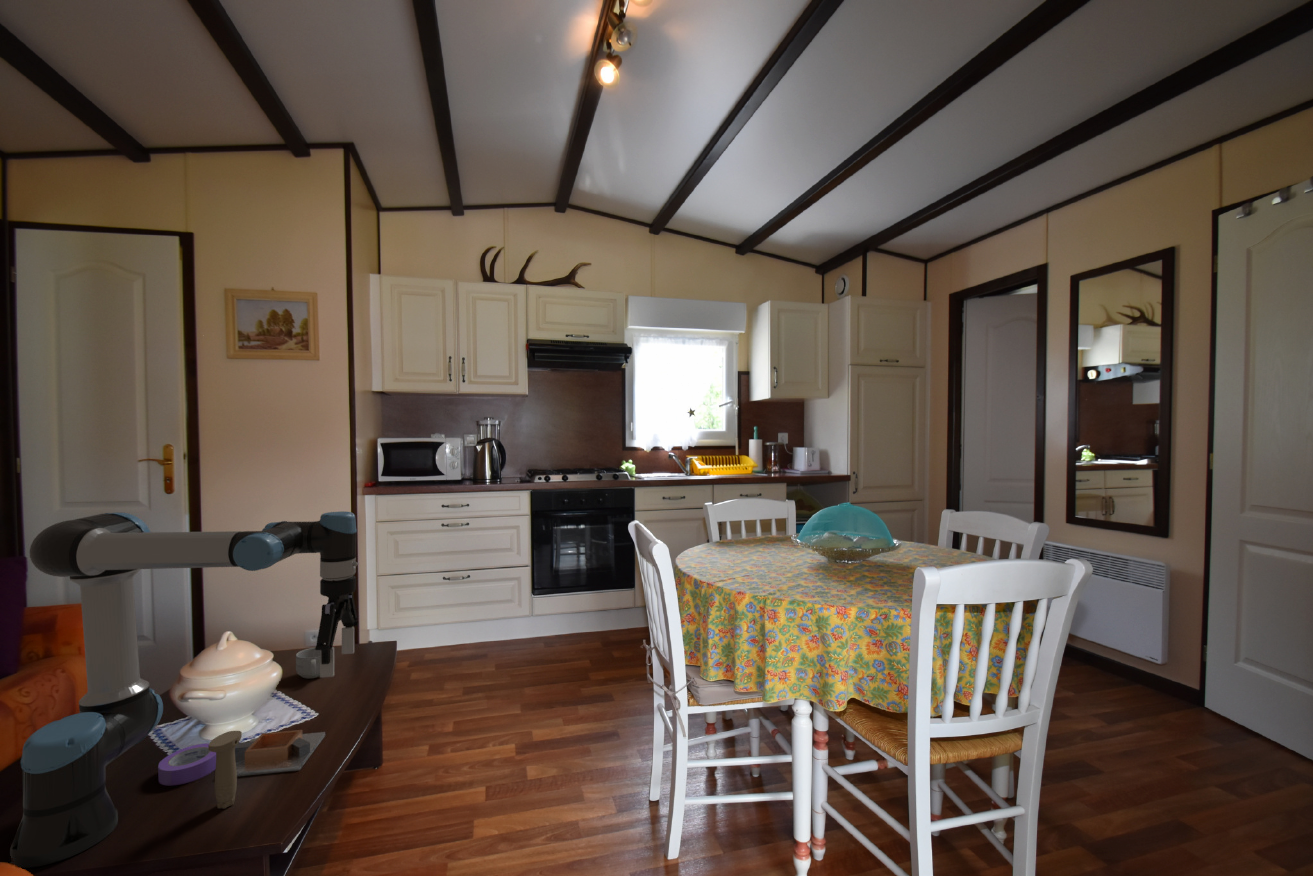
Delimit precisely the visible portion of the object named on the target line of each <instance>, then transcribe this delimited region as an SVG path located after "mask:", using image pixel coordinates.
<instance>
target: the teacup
mask: <svg viewBox="0 0 1313 876" xmlns="http://www.w3.org/2000/svg"><path fill="white" fill-rule="evenodd" d="M295 670H296V673H297V675H298V676H300V677H301V678H303V679H315V678H320V650H315V647H310V648H306V649H303V650H300V651H298V652H297V653H296V654H295Z"/></svg>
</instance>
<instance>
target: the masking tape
mask: <svg viewBox="0 0 1313 876" xmlns="http://www.w3.org/2000/svg"><path fill="white" fill-rule="evenodd" d="M209 743H210V742H209ZM209 743H207V742H206V743H200V744H199V743H198V744H194V745H190V746H187V747H186V746H185V747H184V748H181V749H179V750H176V751H174V752H173V753H170V754H169V755H167V756H165V757H164V758H162V760H160V761H159V763H158V766H157V772H158V774H157V775H158V783H159V784H160V785H163V786H170V787H171V786H178V785H179V786H180V785H184V784H187V783H192V782H194V781H198V780H200V779H201V778H204V777H206V776H207V775H209V774H211V773H212V772H215V769H216V752H211V751H209V749H208V745H209Z"/></svg>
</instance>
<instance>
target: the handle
mask: <svg viewBox="0 0 1313 876" xmlns="http://www.w3.org/2000/svg"><path fill="white" fill-rule="evenodd" d="M242 735H243V733H242V731H241V730H231V731H226V732H224V733H222V734H220V735H217V736H216V737H215V738H213V739H211V741H210V742H209V745H208V749H209V751H211V752H216V769H215V770H214V772H215V774H214V794H215V800H216V802H217V803H216V808H217V809H223V810H224V809H227V808H228V807H230V806H233V805H234V804H235V799H236V792H237V784H238V782H237V781H238V780H237V779H238V777H237V772H236V761H235V746H236V745H237V744H238V743H240V741H241V739H242Z"/></svg>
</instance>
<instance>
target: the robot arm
mask: <svg viewBox="0 0 1313 876" xmlns="http://www.w3.org/2000/svg"><path fill="white" fill-rule="evenodd" d="M356 521H357V520H356V515H355V514H354V513H353V512H351V511H331V512H324V513H322V514H321V515H320V519H319V520H313V521H287V520H282V521H273V522H268V523H267V524H265V526H264V528H262V530H246V531H240V530H239V531H238V530H236V531H231V530H230V531H229V530H228V531H227V530H226V531H168V532H167V531H162V532H160V531H155V532H153V531H152V532H151V529H150V528H149V526H148V525H147V524H146V522H145V521H144V520H143V519H141V518H139V517H138V516H136V515H134V514H130V513H128V512H105V513H99V514H95V515H94V514H93V515H90V516H85V517H82V518H81V517H80V518H75V519H70V520H69V519H68V520H65V521H64V520H63V521H60V522H57V523H54V524H52V525H49V526H48V527H46V528H45V529H43V530H42V531H40V532H39V533H38V534H37V535H36V536H35V537H34V538H33V540H32V542H31V544H30V547H29V557H30V560H31V563H32V564H33V566H34V568H36V569H37V570H39V571H40V572H42V573H43V574H46V575H48V576H53V577H59V578H61V577H64V578H66V577H69V581H72V582H73V583H76V584H77V585H78V586H79V589H80V600H81V616H82V628H83V629H82V630H83V643H84V656H85V670H86V683H87V692H86V693H85V694H84V695H83V696H82V697H81V698H80V699H79V701H78V710H79V711H78V713H75V714H71V715H67V716H64V717H63V718H61V719H59V720H53V721H51V722H49V723H47V724H46V725H44V726H42V727H40V728H38V729H37V730H36V731H34V732H33V733H32V734H31V735H30V736H28V738H27V739H26V740H25V742H24V744H23V747H22V755H21V758H20V768H21V783H22V789H21V791H22V819H21V821H20V823H19V826H18V828H17V831H16V834H15V836H14V838H13V841H12V843H11V845H10V849H9V857H10V856H11V858H13V861H14V862H10V864H11V863H14V864H15V865H17V866H19V867H18V868H20V867H22V868H21V869H23V868H24V869H26V868H36V867H42V866H47V865H51V864H54V863H57V862H60V861H64V860H65V859H68V858H71V857H73V856H76V855H77V854H80V853H82V852H84V851H86V850H88V849H90V848H92V847H93V846H95V845H97V844H98V843H100V842H101V841H103V840H104V839H106V837H107V836H110V835H111V833H112V832H113V831H114V830H115V828H116V827H117V825H118V822H119V820H118V819H119V816H118V815H119V814H118V809H117V807H116V806H115V805H114V803H113V801H112V799H111V796H110V795H109V793H108V790H107V788H106V787H107V786H106V785H107V784H106V767H107V765H109V764H110V763H112V762H113V761H115V760H117V758H119V757H120V756H121V755H122V754H124V753H125V752H126V751H128V750H129V749H130V748H132V747H133V746H136V745H137V744H139V743H141V742H142V741H143V740H144V739H145V738H146V737H148V736H149V734H151V732H152V731H154V730H155V728H156V727H157V726H158V724H159V722H160V721H161V718H162V717H163V713H164V704H163V700H162V697H161V696H160V694H158V693H155V692H156V691H155V690H154V689H153V688H151V687H150V682H149V681H147V680H145V679H143V678H141V675H140V672H141V671H140V662H139V661H140V660H139V646H138V645H139V644H138V629H137V616H136V603H135V589H134V588H135V587H134V576H135V575H136V574H137V573H138V572H139V571H141V570H157V569H158V570H161V569H197V568H199V569H201V568H204V569H205V568H206V569H207V568H241V569H242V570H245V571H251V572H253V571H254V572H255V571H261V570H264V569H267V568H270V567H272V566H274V565H275V564H277V563H279V562H281V561H283V560H286V559H288V558H289V557H292V556H293V555H297V554H298V555H299V554H316V553H317V554H318V553H319V554H320V555H319V577H320V578H321V579H320V581H319V588H320V589H319V593H320V595H321V596H323V597H326V598H328V600H327V603H326V604H322V605H321V616H320V622H319V627H318V628H319V629H318V633H317V640H316V643H315V644H316V645H315V647H314V648H315V650H320V677H319V678H320V679H321V678H333V677H334V676H335V647H334V642H335V637H336V634H337V629H338V627H339V626H338V625H339V622H340V621H341V624H342V626H343V627H342V628H341V655H350V654H351V655H353V654H354V653H355V627H358V626H359V621H358V613H357V607H356V603H355V598H354V597H355V596H354V592H356V590H357V576H355V574H356V572H357V569H356V568H357V566H358V565H359V563H358V562H357V561H356V560H357V554H356V553H357V532H358V531H357V522H356Z"/></svg>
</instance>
